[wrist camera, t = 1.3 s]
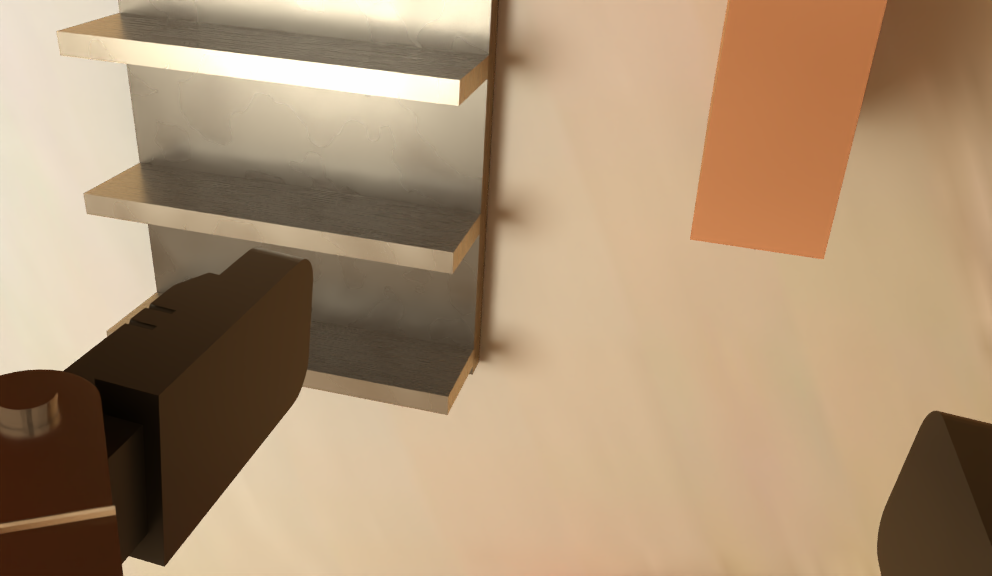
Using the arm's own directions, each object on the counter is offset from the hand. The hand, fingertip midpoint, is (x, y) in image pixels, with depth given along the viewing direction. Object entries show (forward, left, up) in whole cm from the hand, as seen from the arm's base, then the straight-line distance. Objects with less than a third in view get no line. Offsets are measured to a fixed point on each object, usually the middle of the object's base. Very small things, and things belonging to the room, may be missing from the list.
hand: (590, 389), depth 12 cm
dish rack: (+4, -13, -21) cm, 25 cm away
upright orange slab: (-3, +2, -21) cm, 21 cm away
